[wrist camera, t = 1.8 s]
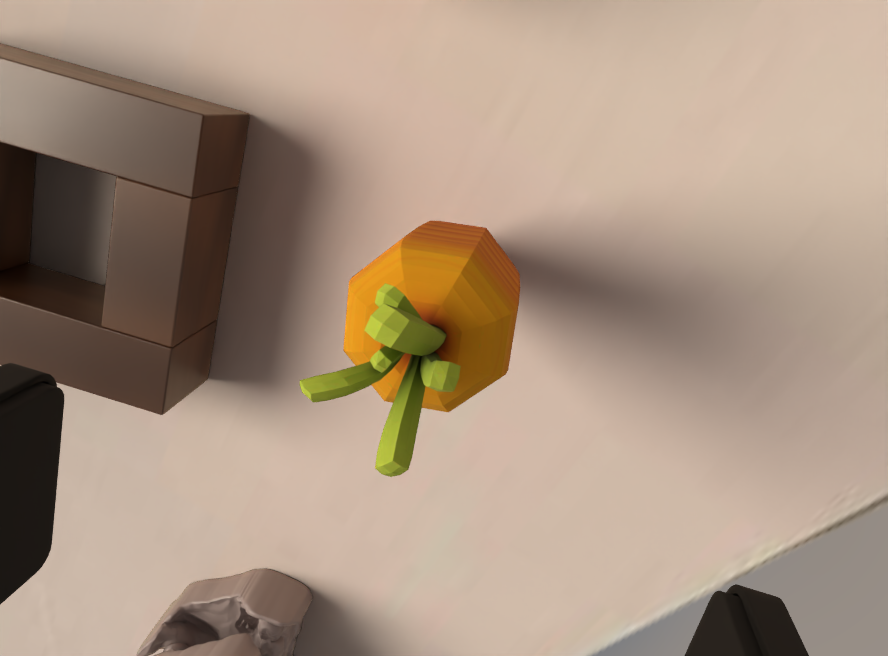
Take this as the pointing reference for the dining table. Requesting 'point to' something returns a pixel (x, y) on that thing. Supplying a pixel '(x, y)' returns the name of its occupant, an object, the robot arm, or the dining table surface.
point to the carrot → (426, 329)
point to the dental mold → (233, 617)
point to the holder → (118, 229)
